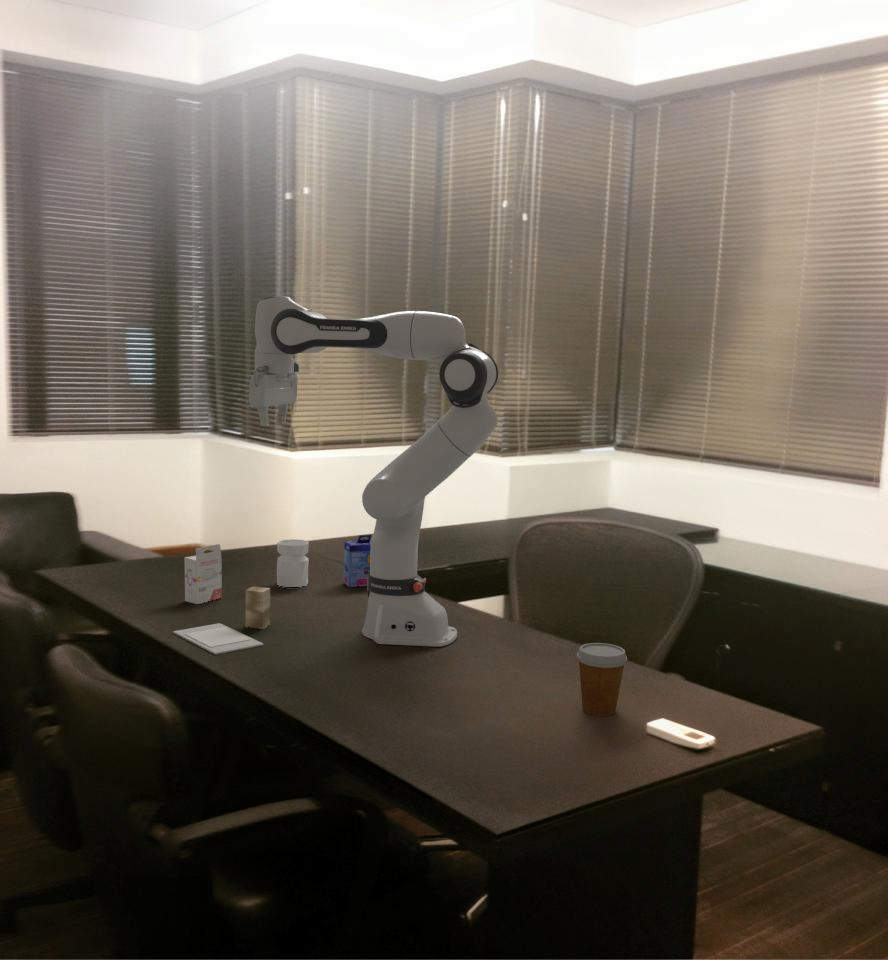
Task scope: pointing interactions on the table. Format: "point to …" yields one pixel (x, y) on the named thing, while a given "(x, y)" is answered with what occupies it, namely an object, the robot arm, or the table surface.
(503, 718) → the table surface
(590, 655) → the disposable coffee cup
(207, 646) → the grey mat
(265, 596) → the wooden block
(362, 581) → the ink cartridge box
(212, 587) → the ink cartridge box
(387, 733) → the table surface
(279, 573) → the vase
